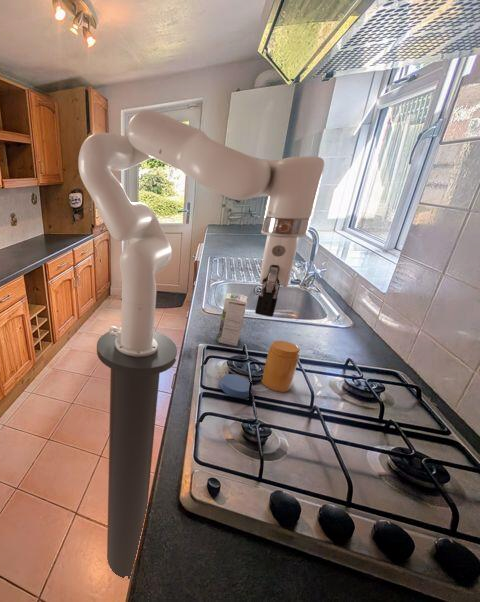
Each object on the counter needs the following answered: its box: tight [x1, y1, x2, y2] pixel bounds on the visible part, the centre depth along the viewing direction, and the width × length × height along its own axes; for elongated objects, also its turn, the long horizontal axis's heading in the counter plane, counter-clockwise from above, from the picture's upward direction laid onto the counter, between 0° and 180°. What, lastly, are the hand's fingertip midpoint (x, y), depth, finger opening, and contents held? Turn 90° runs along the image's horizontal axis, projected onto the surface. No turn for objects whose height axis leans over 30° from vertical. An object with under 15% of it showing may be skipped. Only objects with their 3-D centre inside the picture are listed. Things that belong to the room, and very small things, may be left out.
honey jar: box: [260, 340, 301, 393], centre depth 71 cm, size 6×6×11 cm
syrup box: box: [216, 293, 249, 347], centre depth 90 cm, size 6×6×14 cm
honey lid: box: [219, 373, 253, 399], centre depth 71 cm, size 7×7×2 cm
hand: (265, 306), depth 65 cm, fingers open, 9 cm apart
